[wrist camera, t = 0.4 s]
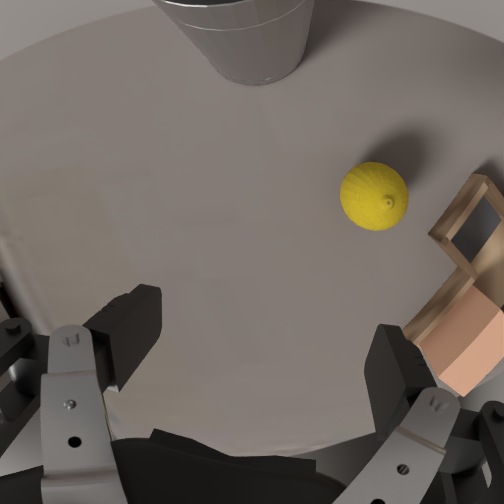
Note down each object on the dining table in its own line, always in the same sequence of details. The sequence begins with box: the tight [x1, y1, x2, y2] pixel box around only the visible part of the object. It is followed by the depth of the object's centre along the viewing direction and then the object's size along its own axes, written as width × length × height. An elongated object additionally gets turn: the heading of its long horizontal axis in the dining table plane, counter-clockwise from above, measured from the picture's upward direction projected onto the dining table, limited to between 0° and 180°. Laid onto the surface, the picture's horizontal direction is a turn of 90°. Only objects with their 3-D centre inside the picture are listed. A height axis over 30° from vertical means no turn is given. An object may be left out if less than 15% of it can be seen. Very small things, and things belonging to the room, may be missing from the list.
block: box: [419, 285, 504, 397], centre depth 28 cm, size 9×6×7 cm, turn 144°
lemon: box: [340, 162, 408, 231], centre depth 24 cm, size 6×6×8 cm
